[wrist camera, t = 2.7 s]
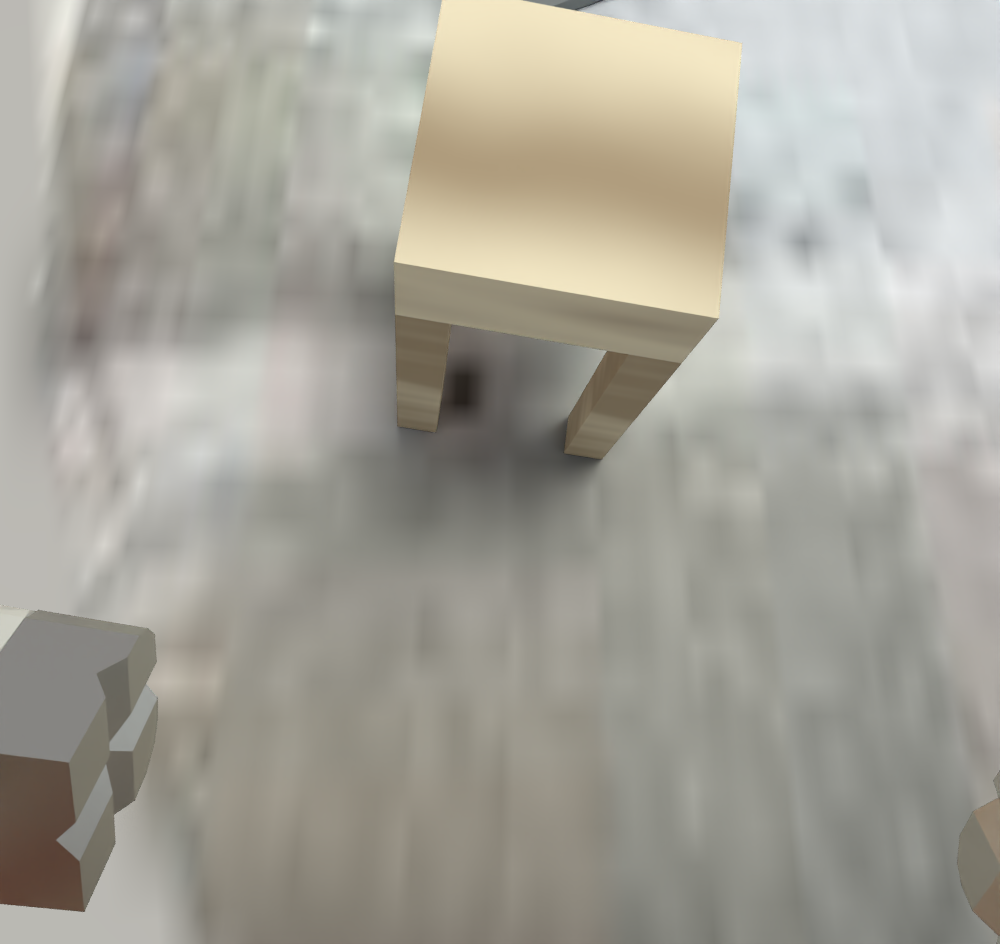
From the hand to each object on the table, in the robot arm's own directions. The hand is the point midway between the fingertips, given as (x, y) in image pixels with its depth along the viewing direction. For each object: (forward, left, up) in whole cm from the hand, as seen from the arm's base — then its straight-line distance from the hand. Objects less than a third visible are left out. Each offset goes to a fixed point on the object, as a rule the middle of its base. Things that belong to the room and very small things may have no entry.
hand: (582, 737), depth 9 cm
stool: (-6, -9, -18) cm, 21 cm away
